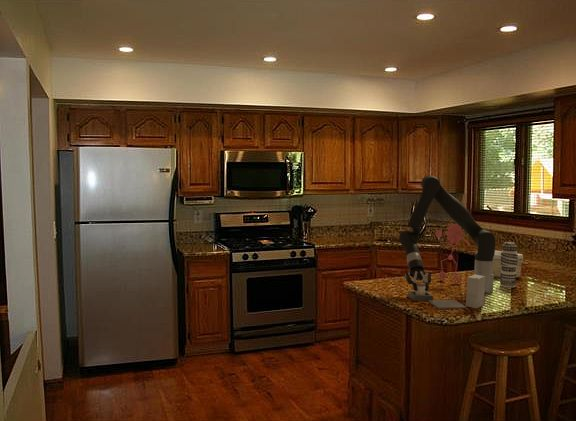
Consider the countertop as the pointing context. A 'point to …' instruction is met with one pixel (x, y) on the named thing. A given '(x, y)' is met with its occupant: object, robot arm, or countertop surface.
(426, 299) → the grey holder
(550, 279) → the countertop surface
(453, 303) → the slate tile
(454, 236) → the figurine
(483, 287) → the skincare box
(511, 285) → the decorative candle
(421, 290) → the cream jar
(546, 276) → the countertop surface
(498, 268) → the storage basket
